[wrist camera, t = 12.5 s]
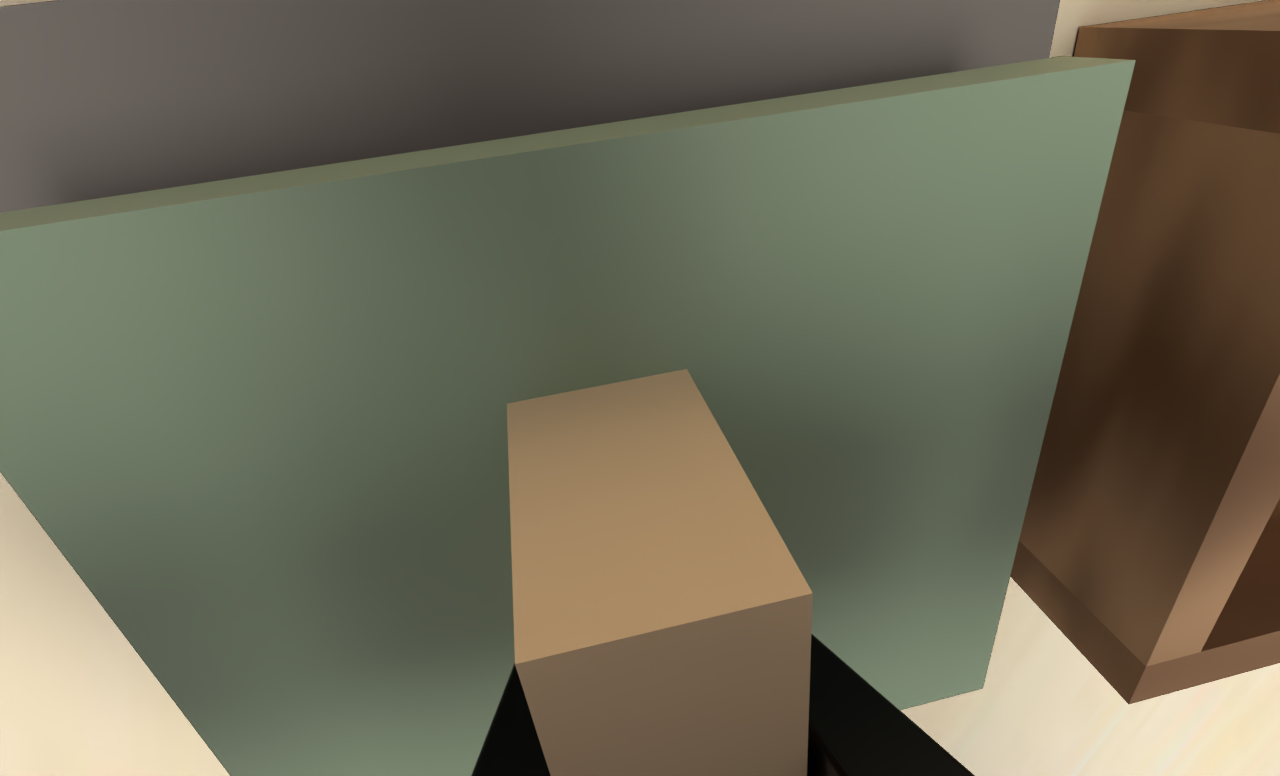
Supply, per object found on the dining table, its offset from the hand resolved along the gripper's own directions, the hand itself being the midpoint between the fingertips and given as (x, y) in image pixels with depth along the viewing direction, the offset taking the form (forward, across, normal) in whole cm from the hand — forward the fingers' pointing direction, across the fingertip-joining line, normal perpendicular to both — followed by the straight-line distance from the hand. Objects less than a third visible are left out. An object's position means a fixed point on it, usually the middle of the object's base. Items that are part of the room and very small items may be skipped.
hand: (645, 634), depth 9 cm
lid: (+3, 0, 0) cm, 3 cm away
